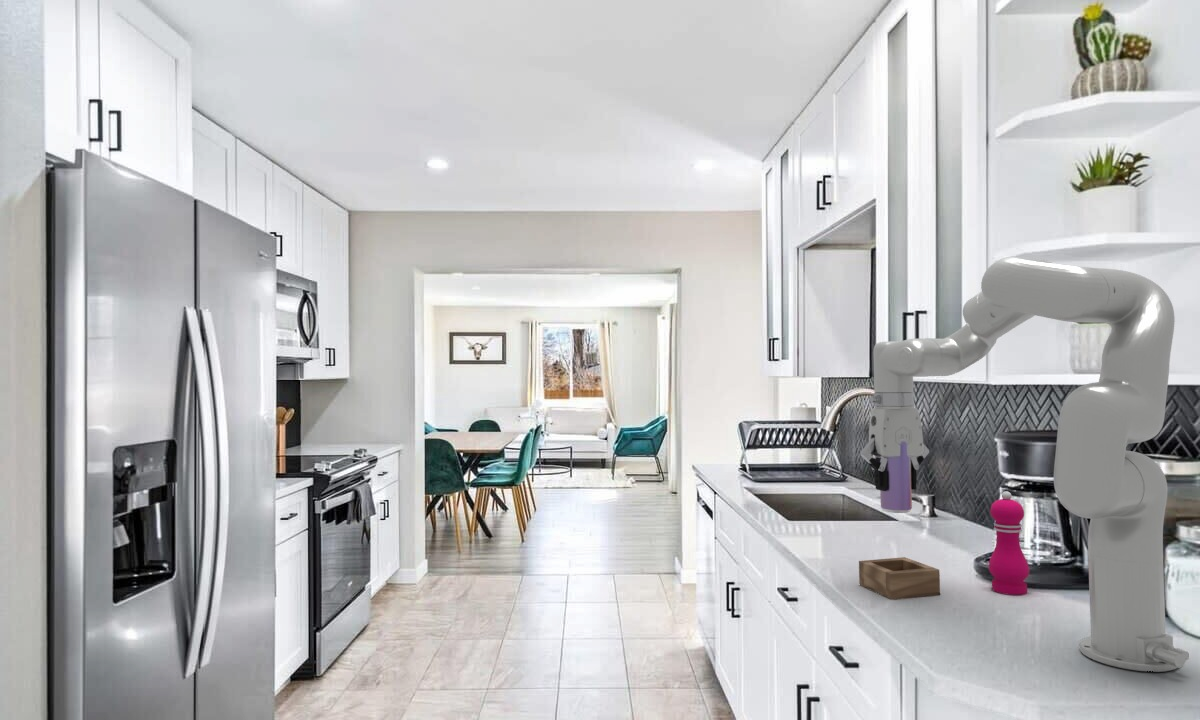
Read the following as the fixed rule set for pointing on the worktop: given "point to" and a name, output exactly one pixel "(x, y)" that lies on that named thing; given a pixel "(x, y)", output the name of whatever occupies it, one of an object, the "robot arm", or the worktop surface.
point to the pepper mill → (1008, 548)
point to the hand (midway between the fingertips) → (895, 488)
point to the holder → (899, 578)
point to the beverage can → (898, 483)
